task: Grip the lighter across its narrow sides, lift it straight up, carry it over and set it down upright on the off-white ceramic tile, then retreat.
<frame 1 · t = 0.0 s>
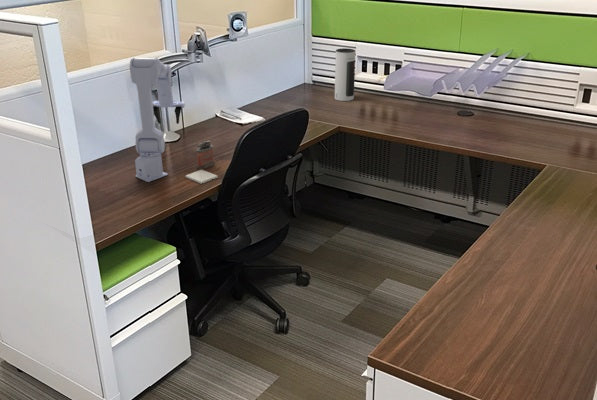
hand: (168, 122, 262), 11 cm above the table, tool pointing down, fingers open, 7 cm apart
speaker: (343, 99, 333), on the table
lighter: (205, 165, 247), on the table
tile: (201, 177, 236), on the table
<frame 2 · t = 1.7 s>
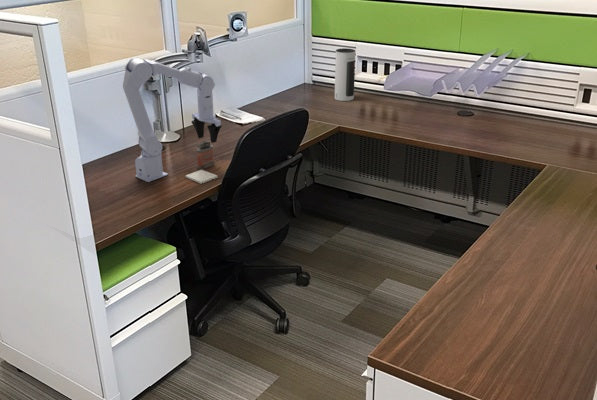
hand: (207, 139, 244), 10 cm above the table, tool pointing down, fingers open, 7 cm apart
nothing on the table moved.
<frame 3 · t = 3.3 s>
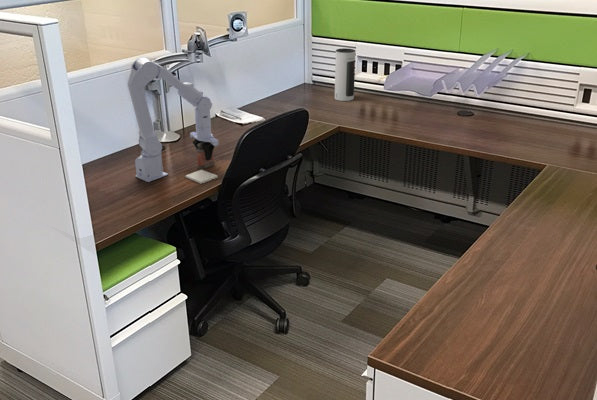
hand: (205, 158, 246), 3 cm above the table, tool pointing down, fingers closed on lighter, 3 cm apart
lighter: (205, 165, 247), on the table, touching gripper
everything else where it was.
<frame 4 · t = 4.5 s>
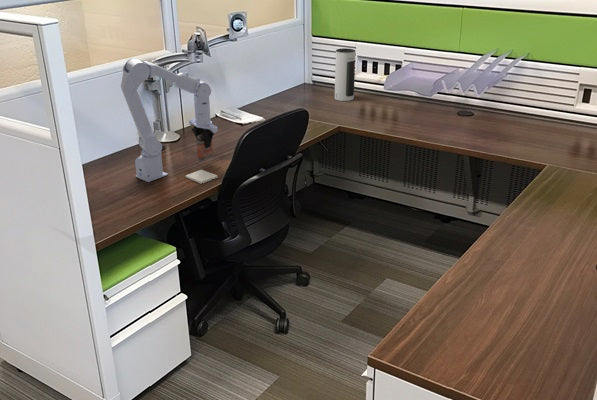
hand: (204, 146, 244), 8 cm above the table, tool pointing down, fingers closed on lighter, 3 cm apart
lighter: (205, 158, 246), point 3 cm above the table, touching gripper
everything else where it was.
when the fingers open (10 cm above the table, at t = 5.7 s): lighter moves 1 cm, resting on tile.
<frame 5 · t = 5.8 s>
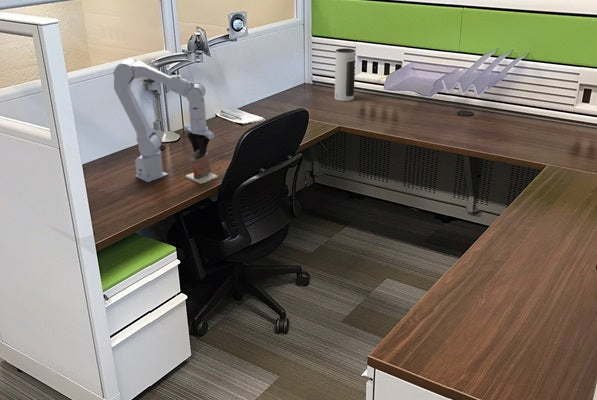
hand: (200, 152, 232), 10 cm above the table, tool pointing down, fingers open, 3 cm apart
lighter: (202, 174, 236), point 1 cm above the table, touching tile
everything else where it was.
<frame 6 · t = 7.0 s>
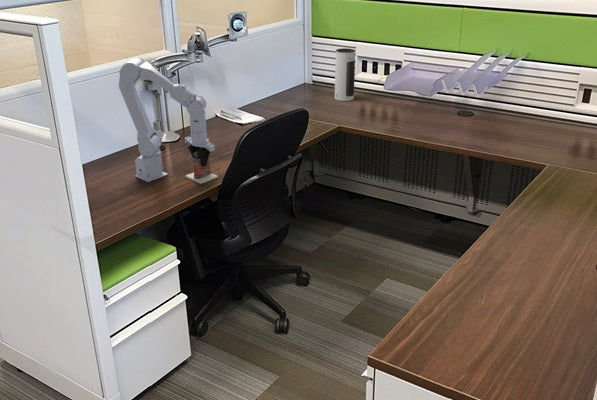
hand: (200, 164, 234), 5 cm above the table, tool pointing down, fingers closed on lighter, 3 cm apart
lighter: (202, 175, 236), point 1 cm above the table, touching gripper, tile
everything else where it was.
when the fingers open (5 cm above the table, at t = 7.1 s): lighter stays where it is, resting on tile.
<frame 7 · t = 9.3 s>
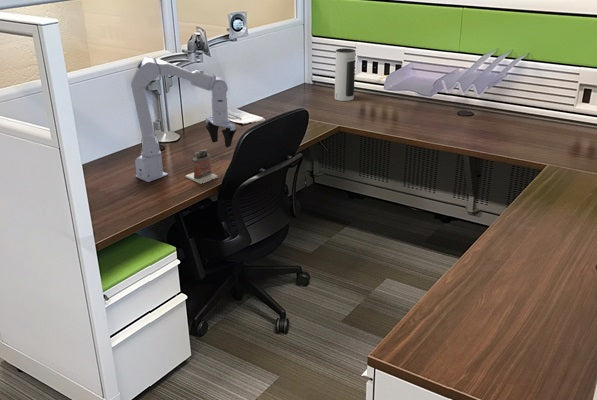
hand: (221, 144, 239), 10 cm above the table, tool pointing down, fingers open, 7 cm apart
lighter: (202, 175, 236), point 1 cm above the table, touching tile
everything else where it was.
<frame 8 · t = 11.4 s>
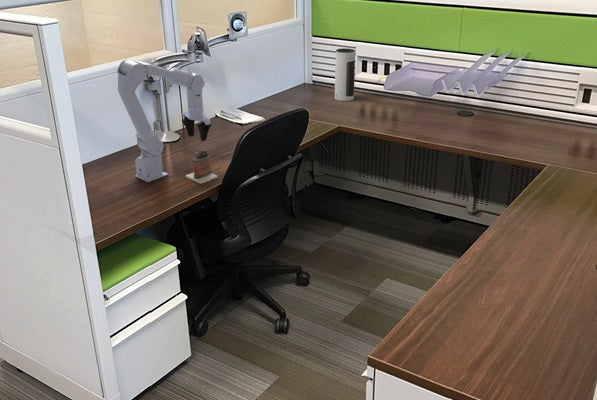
hand: (197, 138, 245), 10 cm above the table, tool pointing down, fingers open, 7 cm apart
nothing on the table moved.
at the end: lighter 0.5 cm off-centre on the tile, point 0.6 cm above the tile's base; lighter tilted 0°; the gripper is holding nothing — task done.
